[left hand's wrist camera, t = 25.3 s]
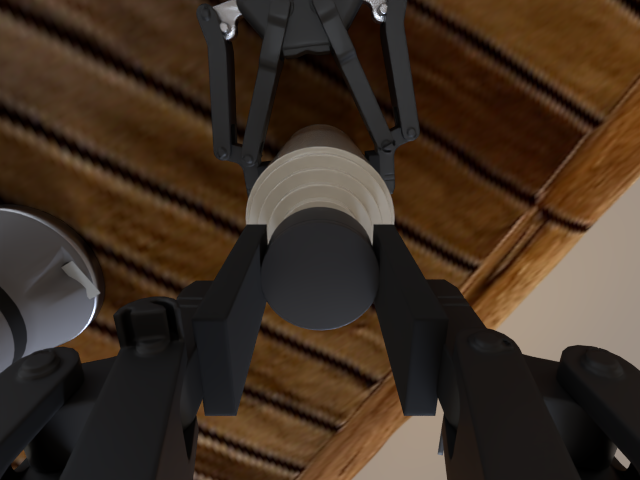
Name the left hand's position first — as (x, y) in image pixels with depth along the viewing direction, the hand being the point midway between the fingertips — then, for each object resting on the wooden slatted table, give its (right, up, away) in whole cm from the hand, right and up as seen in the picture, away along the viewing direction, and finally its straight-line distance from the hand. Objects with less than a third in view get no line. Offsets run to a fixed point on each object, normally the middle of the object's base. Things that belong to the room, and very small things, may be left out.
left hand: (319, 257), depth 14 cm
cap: (0, -1, -2) cm, 2 cm away
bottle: (0, +8, +20) cm, 21 cm away
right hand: (0, +1, +16) cm, 16 cm away
